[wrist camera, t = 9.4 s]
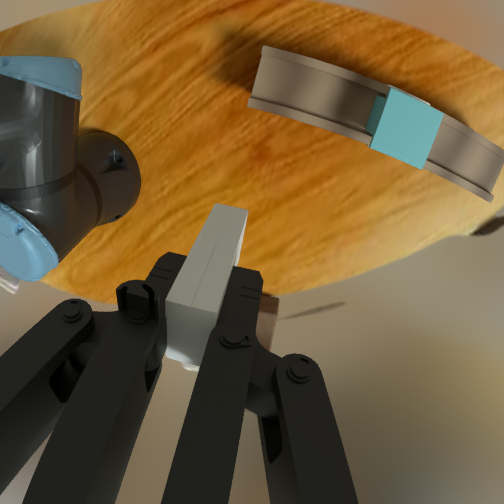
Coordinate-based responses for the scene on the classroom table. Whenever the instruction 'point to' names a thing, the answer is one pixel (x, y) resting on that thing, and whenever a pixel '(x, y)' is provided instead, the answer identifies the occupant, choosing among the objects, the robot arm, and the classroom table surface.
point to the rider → (403, 127)
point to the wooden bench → (366, 115)
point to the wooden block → (266, 321)
